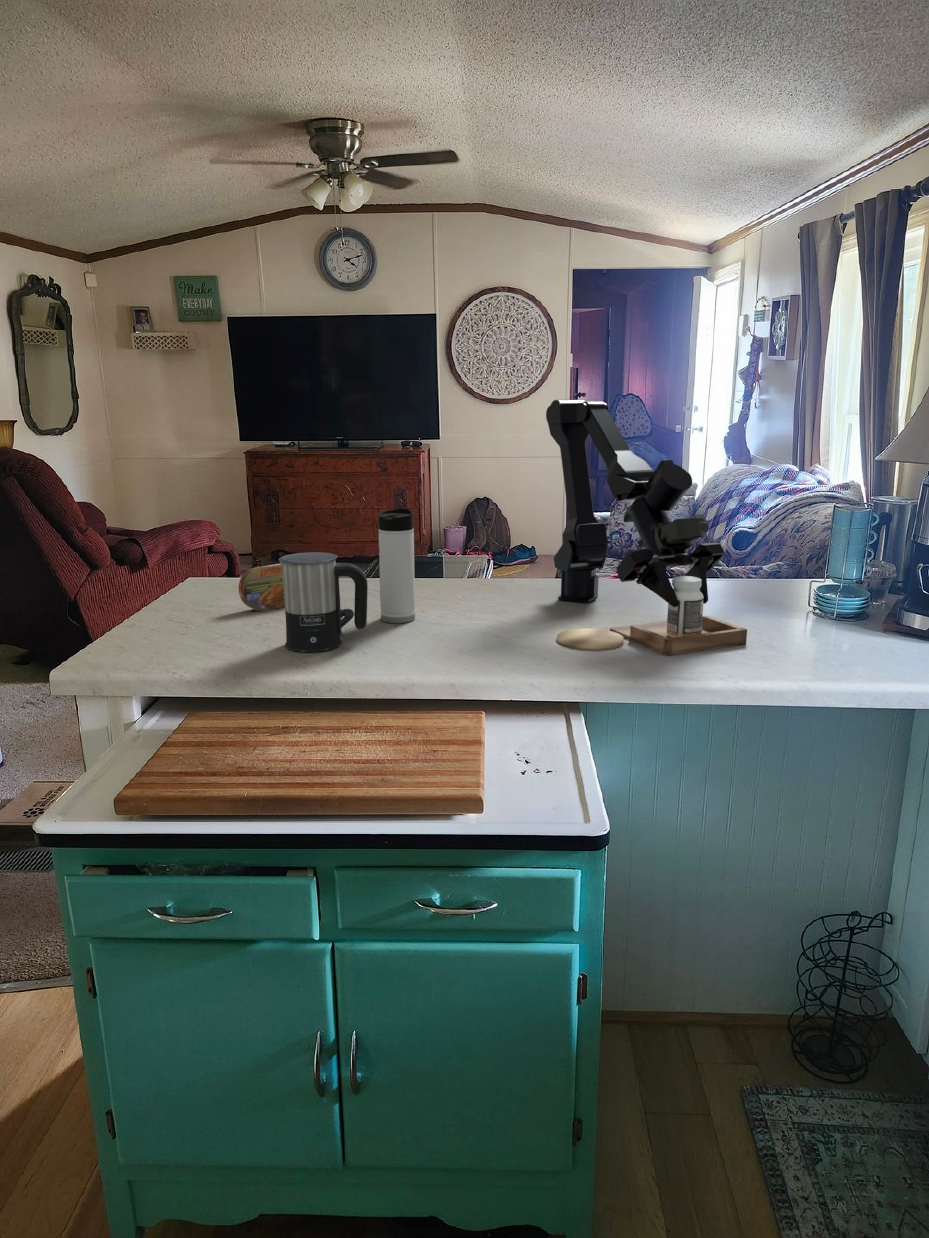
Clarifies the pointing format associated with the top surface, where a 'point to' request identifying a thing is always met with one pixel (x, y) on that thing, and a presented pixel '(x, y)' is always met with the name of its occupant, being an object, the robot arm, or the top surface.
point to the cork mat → (590, 639)
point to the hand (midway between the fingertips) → (691, 604)
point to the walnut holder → (659, 641)
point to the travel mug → (396, 566)
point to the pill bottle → (686, 607)
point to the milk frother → (319, 600)
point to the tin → (263, 588)
